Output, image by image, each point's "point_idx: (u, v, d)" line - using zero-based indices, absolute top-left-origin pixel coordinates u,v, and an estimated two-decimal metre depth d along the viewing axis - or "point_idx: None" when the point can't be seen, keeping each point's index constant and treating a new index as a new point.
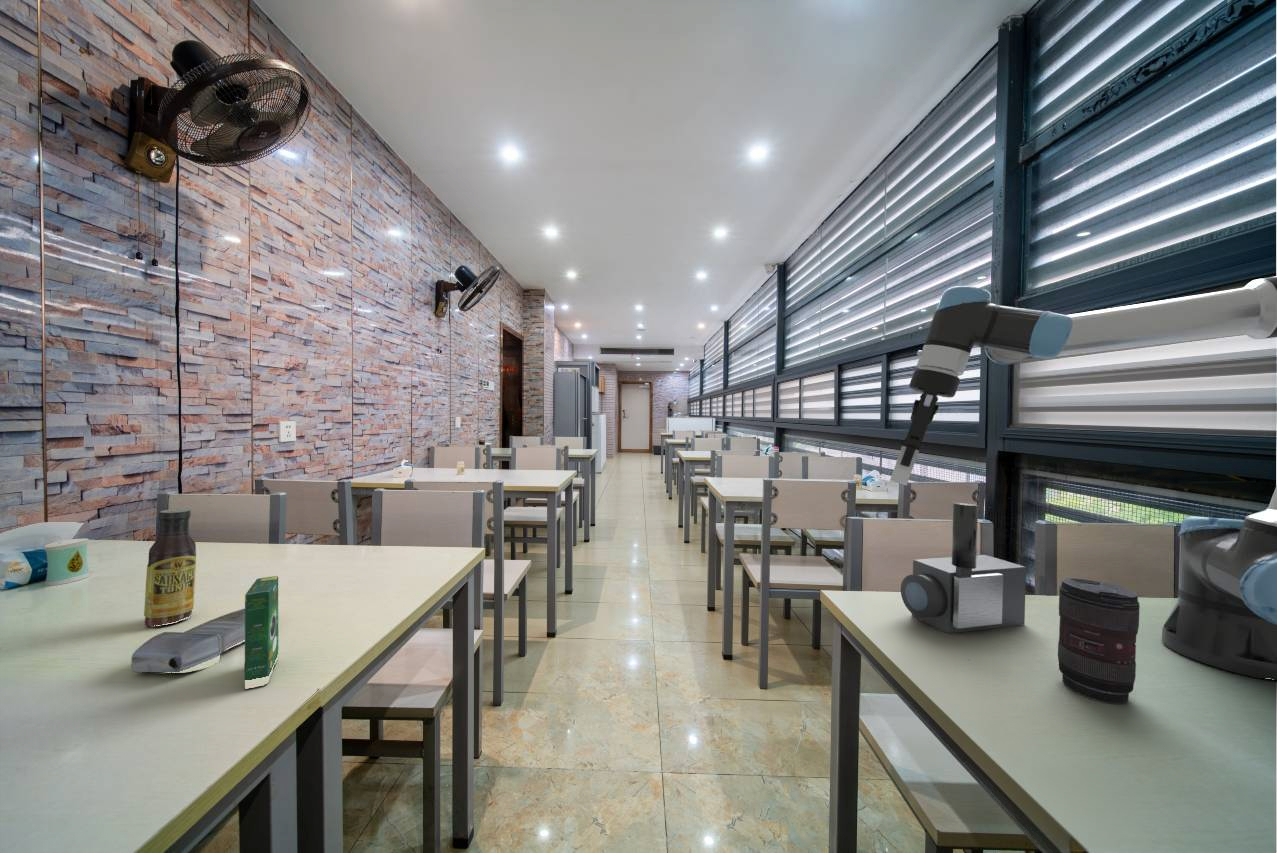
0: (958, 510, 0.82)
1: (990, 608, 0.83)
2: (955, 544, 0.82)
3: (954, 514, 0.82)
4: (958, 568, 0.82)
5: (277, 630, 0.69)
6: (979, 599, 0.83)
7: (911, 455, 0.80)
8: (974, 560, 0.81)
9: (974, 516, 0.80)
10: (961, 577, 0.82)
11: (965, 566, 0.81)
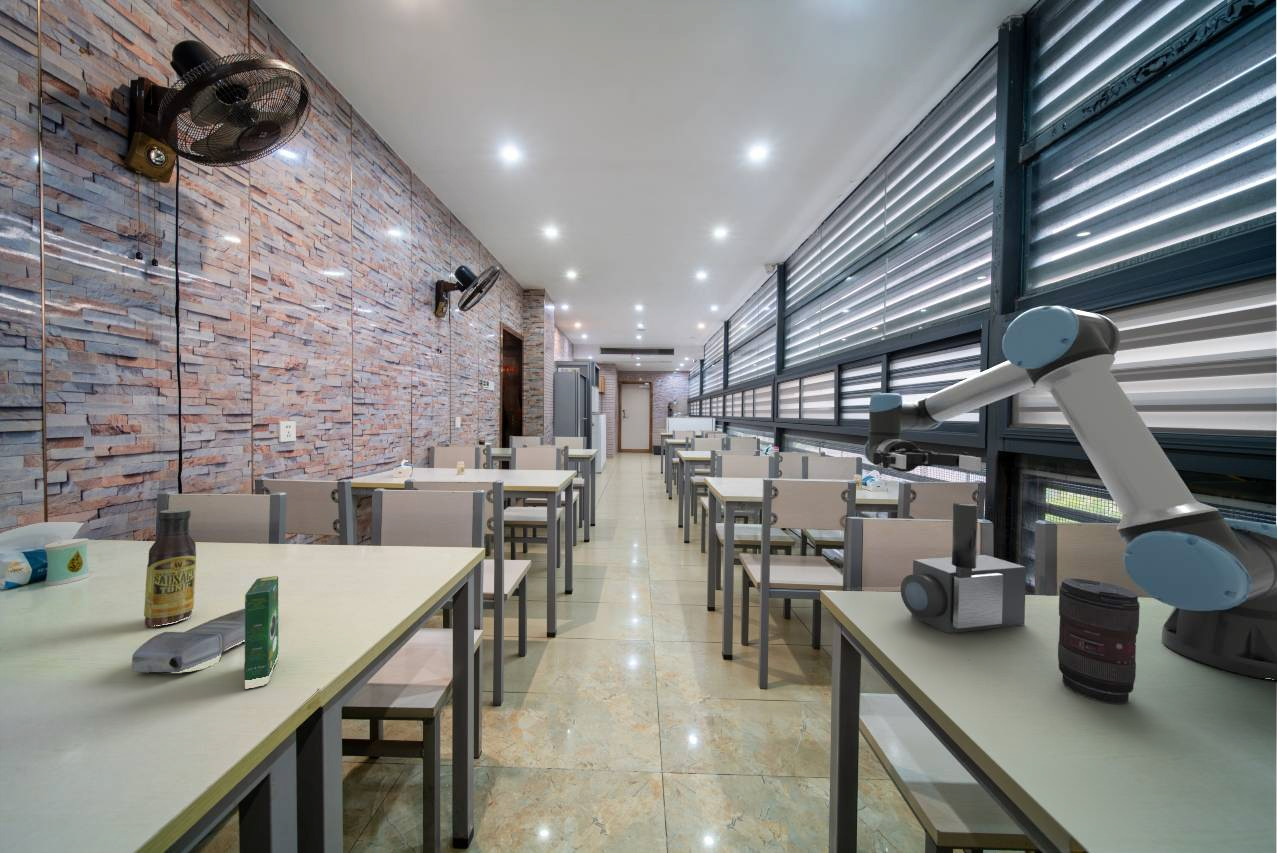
0: (958, 510, 0.82)
1: (990, 608, 0.83)
2: (955, 544, 0.82)
3: (954, 514, 0.82)
4: (958, 568, 0.82)
5: (277, 630, 0.69)
6: (979, 599, 0.83)
7: (886, 457, 0.98)
8: (974, 560, 0.81)
9: (974, 516, 0.80)
10: (961, 577, 0.82)
11: (965, 566, 0.81)
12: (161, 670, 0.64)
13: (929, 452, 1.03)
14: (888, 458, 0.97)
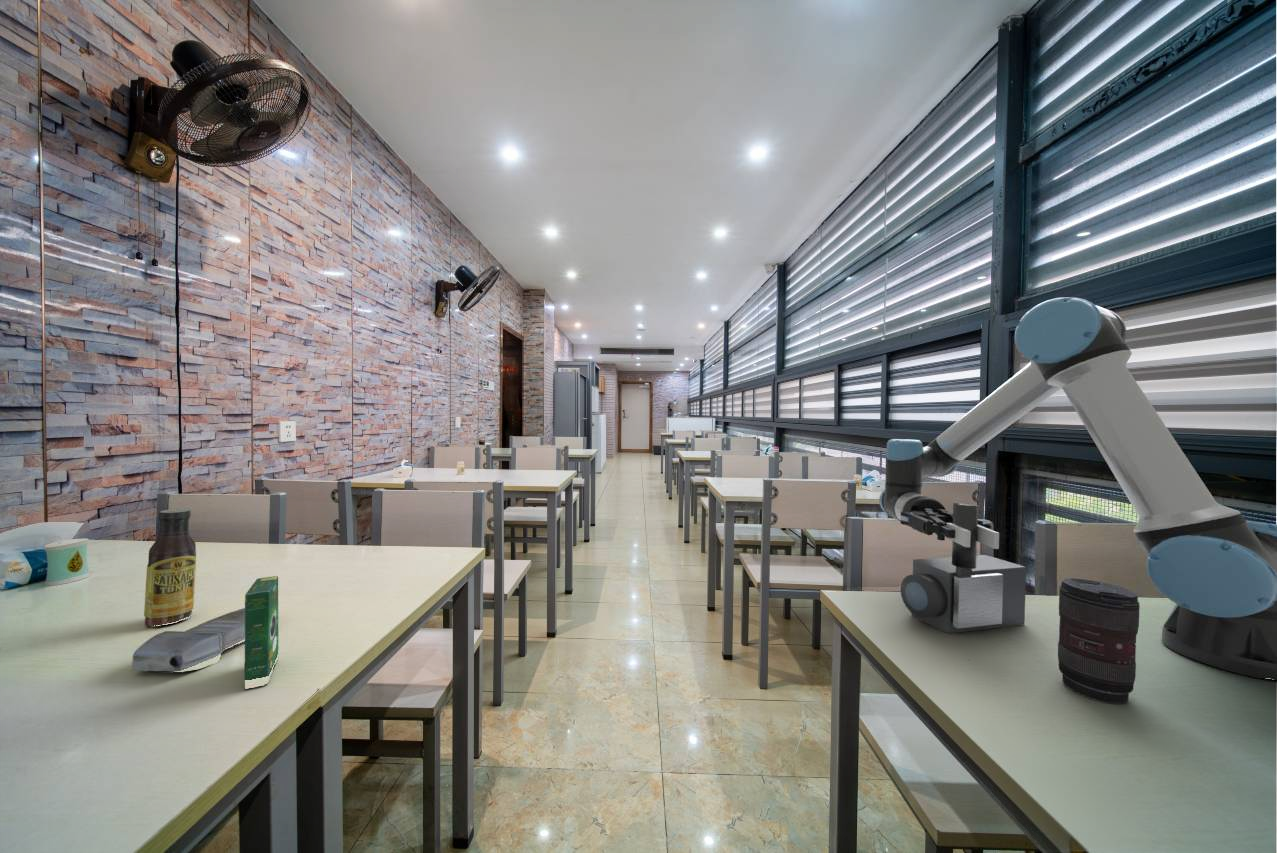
0: (958, 510, 0.82)
1: (990, 608, 0.83)
2: (955, 544, 0.82)
3: (954, 514, 0.82)
4: (958, 568, 0.82)
5: (277, 630, 0.69)
6: (979, 599, 0.83)
7: (942, 528, 0.83)
8: (974, 560, 0.81)
9: (974, 516, 0.80)
10: (961, 577, 0.82)
11: (965, 566, 0.81)
12: (161, 669, 0.65)
13: (949, 515, 0.90)
14: (946, 530, 0.82)
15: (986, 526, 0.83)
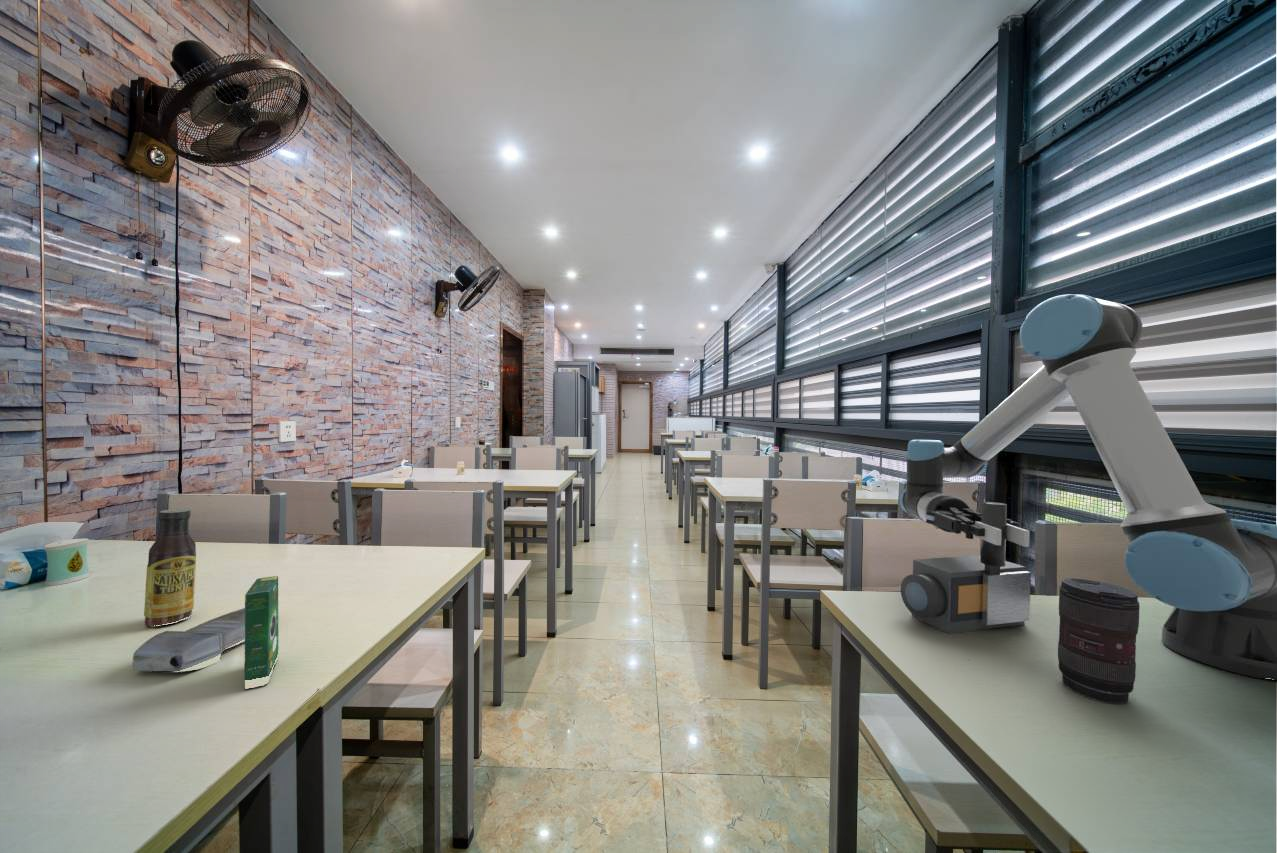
0: (987, 509, 0.83)
1: (1018, 605, 0.85)
2: (984, 543, 0.84)
3: (983, 513, 0.84)
4: (987, 566, 0.84)
5: (277, 630, 0.69)
6: (1007, 596, 0.84)
7: (971, 527, 0.84)
8: (1003, 558, 0.82)
9: (1003, 515, 0.82)
10: (990, 575, 0.83)
11: (994, 564, 0.82)
12: (162, 669, 0.65)
13: (975, 514, 0.92)
14: (975, 529, 0.83)
15: (1014, 525, 0.85)
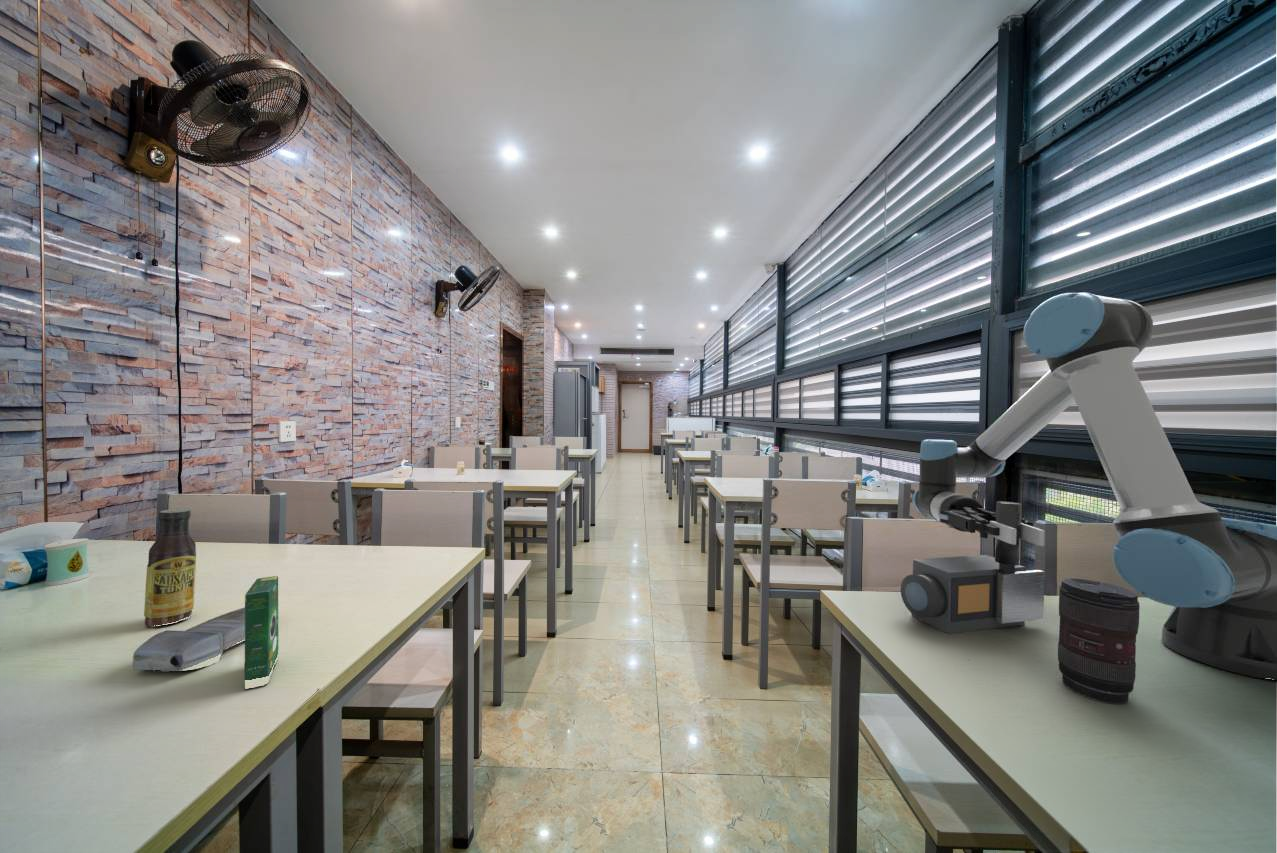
0: (1002, 508, 0.84)
1: (1032, 604, 0.86)
2: (999, 542, 0.84)
3: (997, 512, 0.85)
4: (1002, 565, 0.84)
5: (277, 630, 0.69)
6: (1022, 595, 0.85)
7: (985, 526, 0.85)
8: (1018, 557, 0.83)
9: (1018, 515, 0.83)
10: (1005, 574, 0.84)
11: (1009, 563, 0.83)
12: (162, 668, 0.65)
13: (989, 513, 0.93)
14: (990, 528, 0.84)
15: (1028, 524, 0.86)
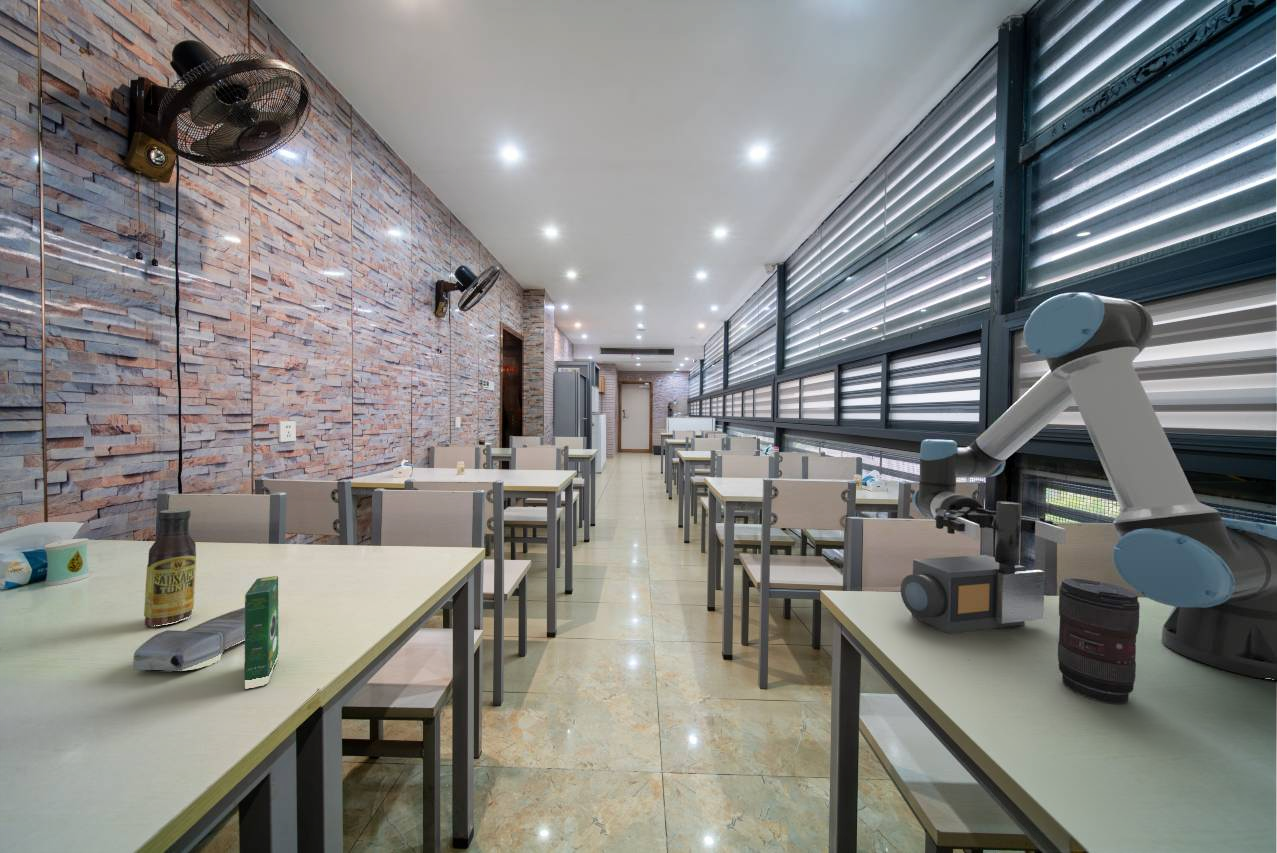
0: (1002, 508, 0.84)
1: (1032, 604, 0.86)
2: (999, 542, 0.84)
3: (998, 512, 0.85)
4: (1002, 565, 0.84)
5: (277, 630, 0.69)
6: (1022, 595, 0.85)
7: (952, 522, 0.88)
8: (1018, 557, 0.83)
9: (1018, 515, 0.83)
10: (1005, 574, 0.84)
11: (1009, 563, 0.83)
12: (162, 668, 0.65)
13: None
14: (956, 524, 0.87)
15: (1048, 523, 0.87)
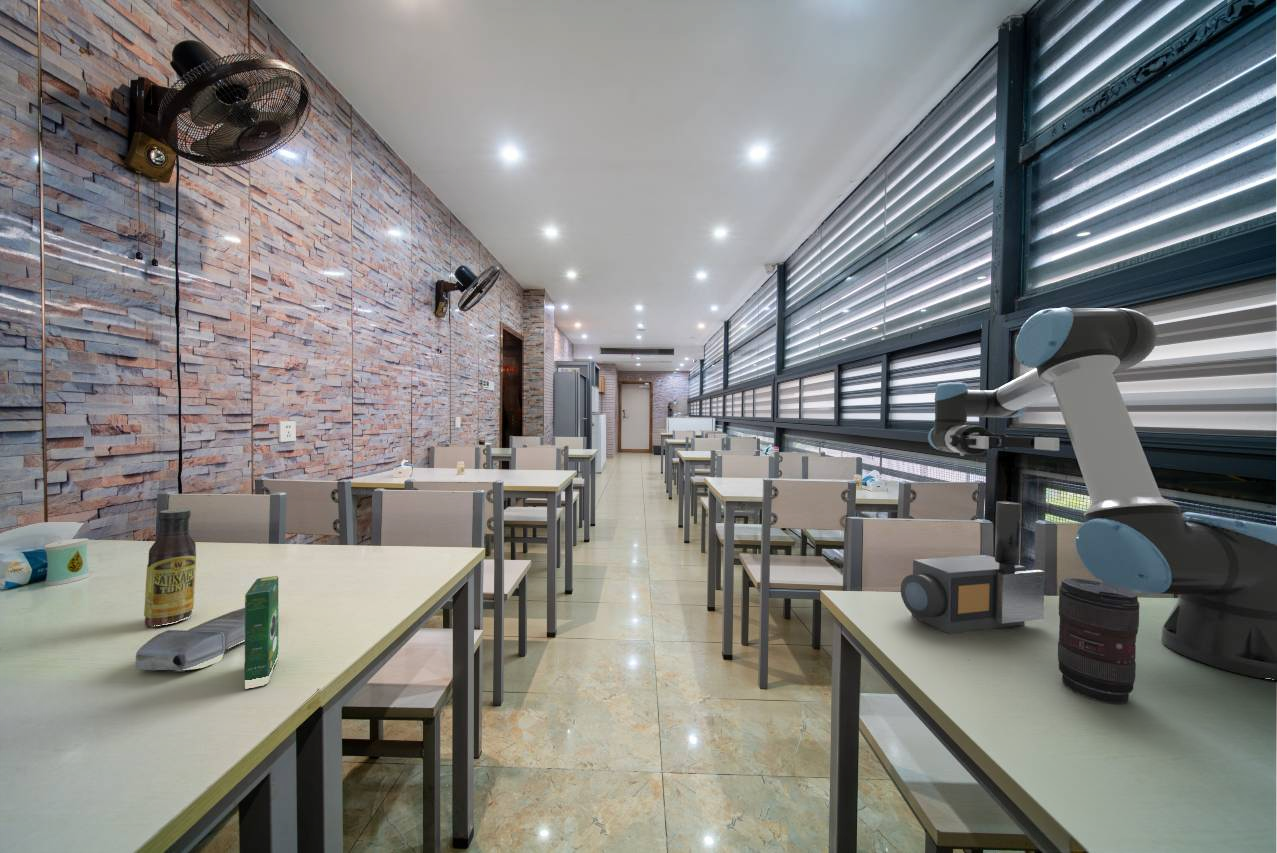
0: (1002, 508, 0.84)
1: (1032, 604, 0.86)
2: (999, 542, 0.84)
3: (998, 512, 0.85)
4: (1002, 565, 0.84)
5: (277, 630, 0.69)
6: (1022, 595, 0.85)
7: (965, 439, 1.06)
8: (1018, 557, 0.83)
9: (1018, 515, 0.83)
10: (1005, 574, 0.84)
11: (1009, 563, 0.83)
12: (165, 668, 0.65)
13: (1003, 435, 1.11)
14: (968, 440, 1.05)
15: None
